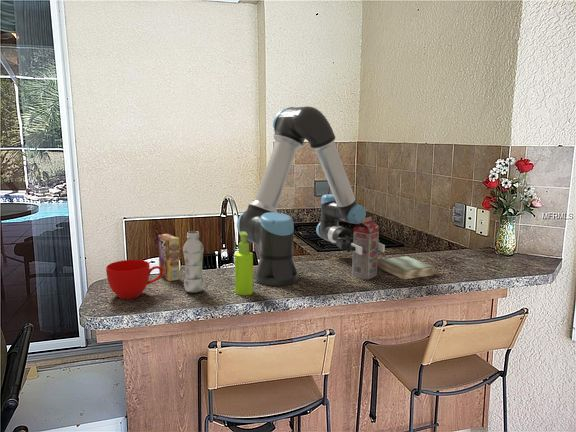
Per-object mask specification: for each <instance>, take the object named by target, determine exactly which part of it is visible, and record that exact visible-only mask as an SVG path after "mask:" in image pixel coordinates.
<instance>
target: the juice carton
mask: <svg viewBox="0 0 576 432" xmlns="http://www.w3.org/2000/svg"><path fill="white" fill-rule="evenodd" d="M353 235H354V236H353V243H354V244H356V245H358V246H361V247H362V255H360V254H357V253H355V252H353V251H352V260H351V261H352V263H351V270H352V271H351V276H352V277H355V278H359V279H363V280H370V279H372V278H374V277H376V276H378V262H379V259H378V256H379V251H378V241H379V242H380V239H379V235H380V226H379V225H378V224H377V223H376V222H374V221H373V219H372V216H371V215H370V216H368V217H365V218H363V219H362V222H361V223H359V224H356V225H354V226H353ZM367 274H368V275H367Z"/></svg>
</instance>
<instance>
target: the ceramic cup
mask: <svg viewBox="0 0 576 432" xmlns="http://www.w3.org/2000/svg"><path fill="white" fill-rule="evenodd" d="M157 269H158V270H159V269H160V274H159V275H158V276H157V277H155V278H153V279H152V280H149V279H150V275H151V273H152V271H153V270H157ZM105 270H106V278H107V281H108V285H109V287H110V289H111V291H112V292H113V293H114V294H115V295H116V296H117V297H118V298H120V299H124V300H129V299H135V298H138V297H140V296H141V295H142V293H143V292H144V291H145V289H146V288H147V286H148V285H150V284H152V283H155V282H156V281H158V280H159V279H160V278H161V275H162V268H161V267H159V265H156V266H152V267H151V266H150V263H149V262H148V261H145V260H141V259H124V260H119V261H115V262H112V263H109V264H108V265H107V266H106V268H105Z"/></svg>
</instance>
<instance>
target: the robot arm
mask: <svg viewBox="0 0 576 432" xmlns="http://www.w3.org/2000/svg"><path fill="white" fill-rule="evenodd" d="M272 127H273V132H274V135H273V139H274V141H275V143H274V145H273V149H272V152H271V154H270V156H269V160H268V162H267V164H266V168H265V171H264V173H263V176H262V179H261V182H260V184H259V187H258V190H257V193H256V195H255V199H254V201H252V202H250V203H248V206H247V209H246V210H245V211H243V212H241V213H240V215H239V216H238V218H237V220H236V221H237V222H236V230H237V232H244V231H245V232H246V233H247V234H248V236H246V242H248V243H251V244H254V245H257V246H259V247H260V249H259V250H260V255H259V257H260V259H259V262H258V264H257V267H256V270H255V281H256V282H257V283H259V284H262V285H266V286H274V287H275V286H277V287H278V286H279V287H280V286H281V287H282V286H288V285H292V284H294V283H296V282H297V281H298V280H299V279H298V277H299V276H298V275H299V274H298V270H297V268H296V264H295V261H294V230H295V227H294V220H293V218H292V216H290V215H289V214H286V213H283V212H282V213H281V212H278V211H277V205H278V204H279V201H280V198H281V196H282V193H283V189H284V187H285V184H286V181H287V178H288V175H289V172H290V169H291V167H292V164H293V161H294V159H295V155H296V153H297V151H298V150H299V149H301V148H302V147H303V145H304V142H305V140H306V141H307V143H308V144H309V146H310V148H311V149H312V150H313V149H314V151H315V153H316V155H317V158H318V161H319V163H320V165H321V168H322V171H323V173H324V176H325V178H326V180H327V183H328V185H329V188H330V191H331V194H330V193H329V194H326V193H325V194H323V195H322V196H321V201H320V221H319V223H318V224H317V226H316V230H315V231H316V234H317V235H318V237H320V238H321V239H323V240H325V241H327V242H330V243H332V244H333V246H336V247H337V248H339V249H340V250H341V251H346V252H347V253H350V252H352V253H353V252H355V253H357V254H360V255H362V247H361V246H358V245H356V244H354V243H353V236H354V232H352V230H351V229H348V228H345V227H343V226H340V225H339V221H343V222H346V223H349V224H356V225H358V224H361V223H362V219H363V218H366V215H367V212H366V207H364V206H363V205H361V204H358V202H357V199H356V197H355V195H354V192H353V189H352V186H351V183H350V181H349V178H348V175H347V174H346V173H347V172H346V170H345V168H344V164H343V162H342V159H341V157H340V154H339V151H338V149H337V146H336V143H335V140H336V136H335V133H334V130H333V127H332V126H331V124H330V122H329V120H328V119H327V117H326V116H325V115H324V113H322V112H321V110H319V109H317V108H315V107H314V106H300V107H298V106H296V107H294V106H291V107H290V106H289V107H287V108H282V109H281V110H280V111H278V112H277V113H276V114H275V116H274V119H273V121H272ZM239 236H240V237H241V235H240V234H239ZM385 247H386V245H385V244H383V243H381V242H380V240H379V241H378V252H381V253H385V251H386V248H385Z"/></svg>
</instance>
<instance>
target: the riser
mask: <svg viewBox="0 0 576 432" xmlns="http://www.w3.org/2000/svg"><path fill="white" fill-rule="evenodd" d="M377 269H381V270H383V271H385V272H386V273H389V274H392V275H393V276H396V277H398V278H400V279H402V280H408V279H415V278H417V279H418V278H423V277H429V276H430V277H431V276H434V275H435V269H436V268H435V266H433V265H431V264H428V263H425V262H424V261H420V260H418V259H415V258H413V257H411V256H408V255H407V256H406V255H405V256H397V257H391V258H390V257H389V258H381V259H378V261H377Z"/></svg>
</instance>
